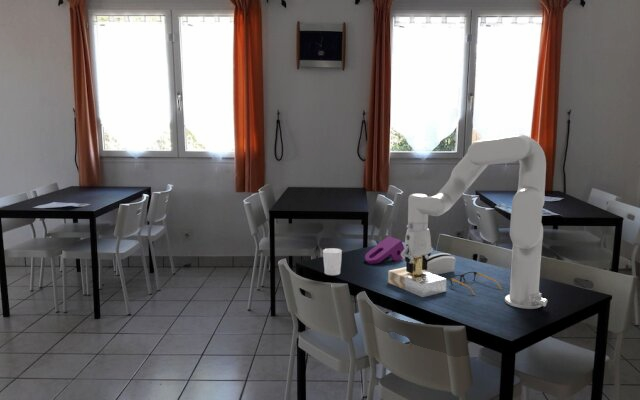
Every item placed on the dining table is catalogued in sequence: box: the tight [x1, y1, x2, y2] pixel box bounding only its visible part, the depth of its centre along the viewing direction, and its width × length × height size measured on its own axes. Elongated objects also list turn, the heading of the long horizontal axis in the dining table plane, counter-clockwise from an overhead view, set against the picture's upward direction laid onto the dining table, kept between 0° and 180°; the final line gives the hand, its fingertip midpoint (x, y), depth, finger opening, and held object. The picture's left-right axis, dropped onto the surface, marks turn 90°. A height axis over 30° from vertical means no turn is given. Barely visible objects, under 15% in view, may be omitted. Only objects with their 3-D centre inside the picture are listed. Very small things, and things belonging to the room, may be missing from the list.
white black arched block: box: [422, 252, 457, 275], centre depth 220 cm, size 17×5×10 cm, turn 118°
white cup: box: [322, 247, 343, 276], centre depth 222 cm, size 8×8×10 cm
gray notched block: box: [405, 272, 447, 298], centre depth 200 cm, size 10×12×5 cm
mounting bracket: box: [364, 236, 405, 265], centre depth 241 cm, size 10×8×18 cm
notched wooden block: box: [387, 266, 427, 291], centre depth 208 cm, size 10×12×5 cm
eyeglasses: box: [449, 271, 502, 296], centre depth 203 cm, size 14×14×4 cm
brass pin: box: [412, 256, 422, 278], centre depth 203 cm, size 4×4×12 cm
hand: (416, 270), depth 203 cm, fingers open, 6 cm apart
